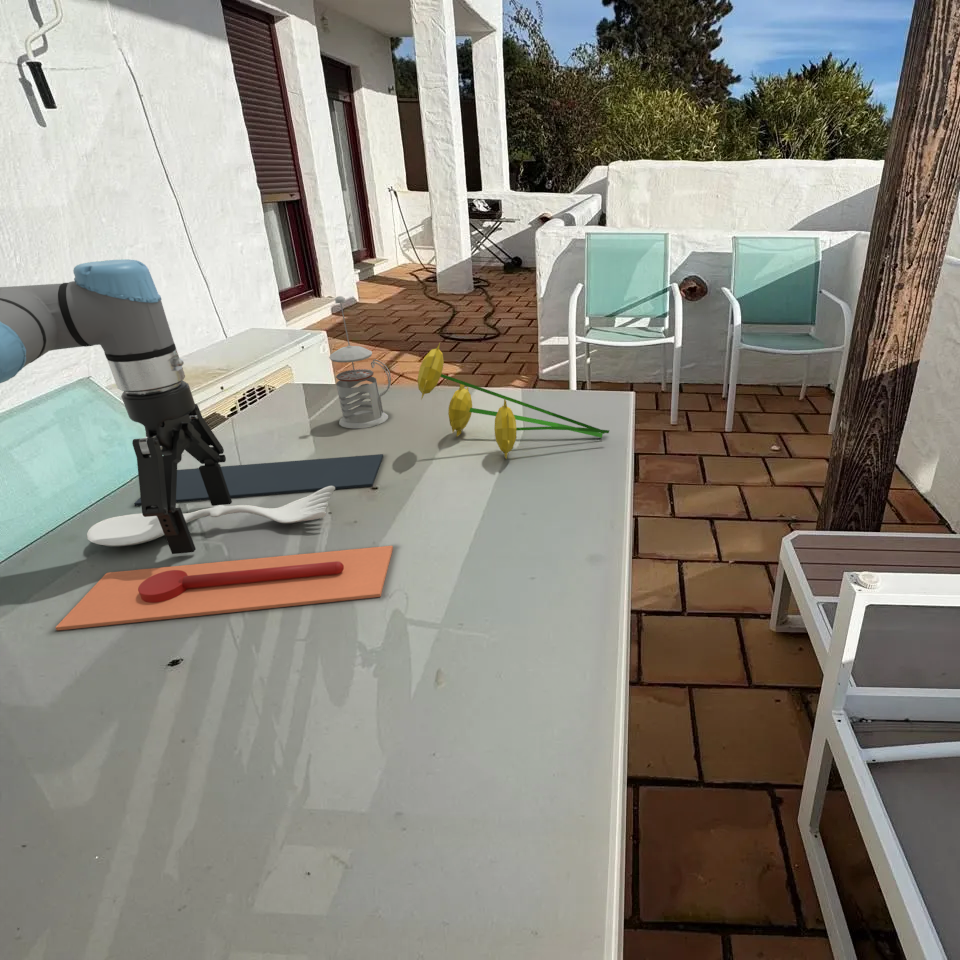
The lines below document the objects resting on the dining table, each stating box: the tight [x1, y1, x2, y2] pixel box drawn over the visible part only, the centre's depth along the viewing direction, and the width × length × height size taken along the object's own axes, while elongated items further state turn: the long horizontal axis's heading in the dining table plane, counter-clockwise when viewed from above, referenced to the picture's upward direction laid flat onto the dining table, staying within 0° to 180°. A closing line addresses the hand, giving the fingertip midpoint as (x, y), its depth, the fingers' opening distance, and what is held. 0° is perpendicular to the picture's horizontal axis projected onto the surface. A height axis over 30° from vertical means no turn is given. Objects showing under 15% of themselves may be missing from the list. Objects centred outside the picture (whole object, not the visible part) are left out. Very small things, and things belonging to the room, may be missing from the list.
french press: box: [328, 295, 392, 429], centre depth 126 cm, size 10×12×25 cm
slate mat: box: [133, 453, 384, 507], centre depth 107 cm, size 36×12×1 cm, turn 99°
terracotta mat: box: [55, 545, 394, 631], centre depth 80 cm, size 36×11×1 cm, turn 99°
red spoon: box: [138, 561, 344, 603], centre depth 79 cm, size 24×5×2 cm, turn 99°
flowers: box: [417, 342, 610, 461], centre depth 117 cm, size 16×22×35 cm
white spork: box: [86, 486, 336, 547], centre depth 92 cm, size 9×32×4 cm, turn 102°
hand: (204, 526), depth 92 cm, fingers open, 13 cm apart
